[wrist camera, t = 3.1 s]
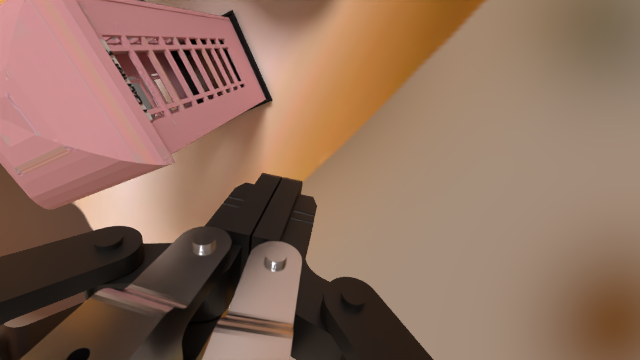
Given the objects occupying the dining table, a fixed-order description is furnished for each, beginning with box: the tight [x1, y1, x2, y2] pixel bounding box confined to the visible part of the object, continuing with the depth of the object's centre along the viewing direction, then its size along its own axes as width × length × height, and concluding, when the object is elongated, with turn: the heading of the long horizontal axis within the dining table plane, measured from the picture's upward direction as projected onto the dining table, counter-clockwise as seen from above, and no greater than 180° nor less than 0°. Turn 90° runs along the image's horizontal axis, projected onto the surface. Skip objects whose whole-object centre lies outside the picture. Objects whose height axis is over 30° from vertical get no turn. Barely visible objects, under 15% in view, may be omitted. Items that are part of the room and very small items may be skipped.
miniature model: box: [0, 0, 272, 209], centre depth 21 cm, size 9×9×20 cm
